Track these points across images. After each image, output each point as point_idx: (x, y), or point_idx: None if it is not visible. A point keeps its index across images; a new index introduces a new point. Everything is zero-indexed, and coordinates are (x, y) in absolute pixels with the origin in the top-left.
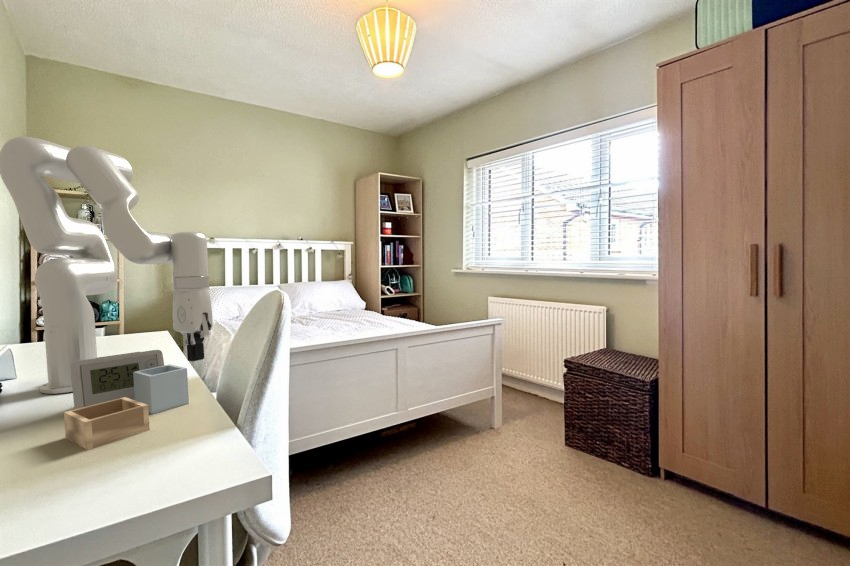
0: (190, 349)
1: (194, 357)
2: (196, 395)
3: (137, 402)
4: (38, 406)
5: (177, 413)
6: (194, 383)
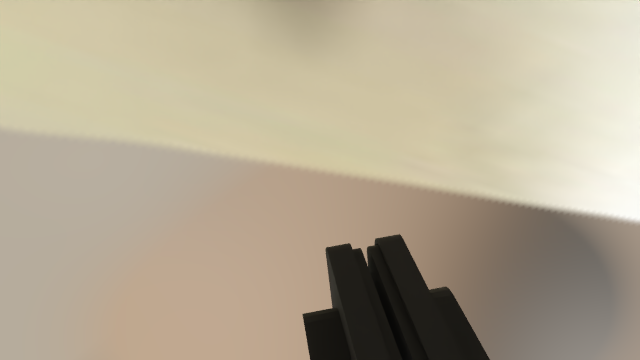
0: (356, 353)
1: (336, 298)
2: (54, 71)
3: None
4: None
5: None
6: (403, 168)
